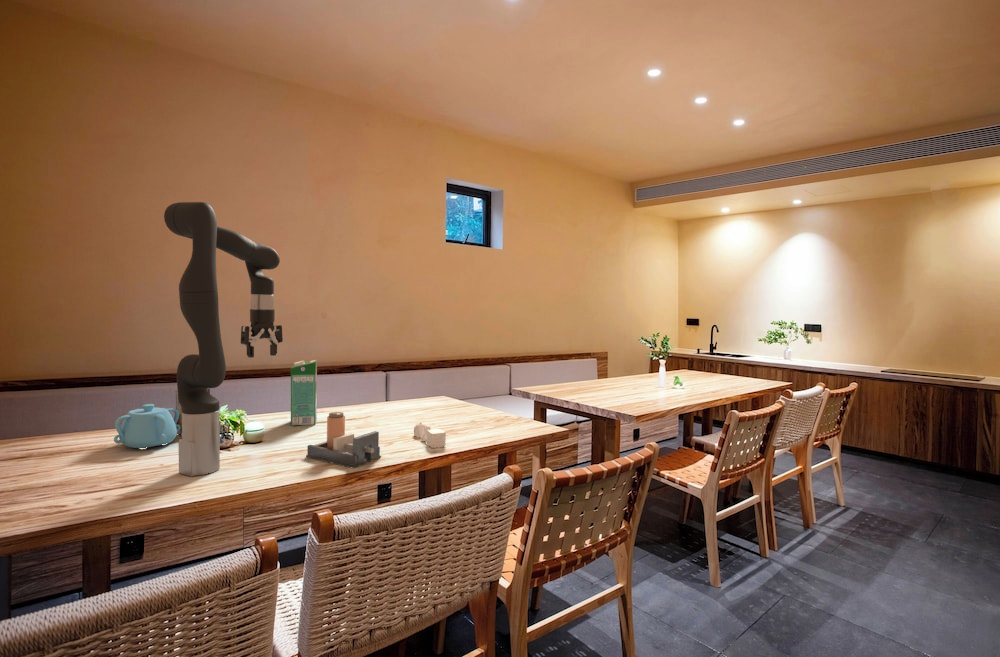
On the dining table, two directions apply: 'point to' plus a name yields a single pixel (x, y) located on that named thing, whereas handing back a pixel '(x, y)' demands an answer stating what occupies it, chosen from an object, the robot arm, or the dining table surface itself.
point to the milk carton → (304, 393)
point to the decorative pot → (147, 427)
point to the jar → (335, 427)
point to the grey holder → (346, 458)
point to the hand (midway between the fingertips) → (262, 356)
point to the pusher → (347, 444)
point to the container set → (430, 435)
